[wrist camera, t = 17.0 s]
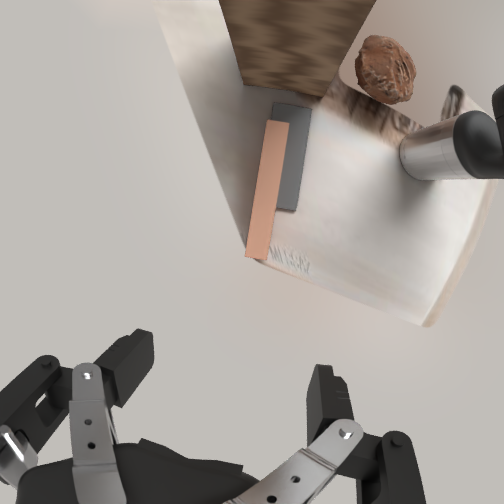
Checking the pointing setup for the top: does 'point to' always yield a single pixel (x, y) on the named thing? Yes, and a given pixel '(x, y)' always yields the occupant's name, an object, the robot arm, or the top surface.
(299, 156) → the mat
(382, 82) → the decorative rock
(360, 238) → the top surface
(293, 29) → the stand
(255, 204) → the tan wooden bar
